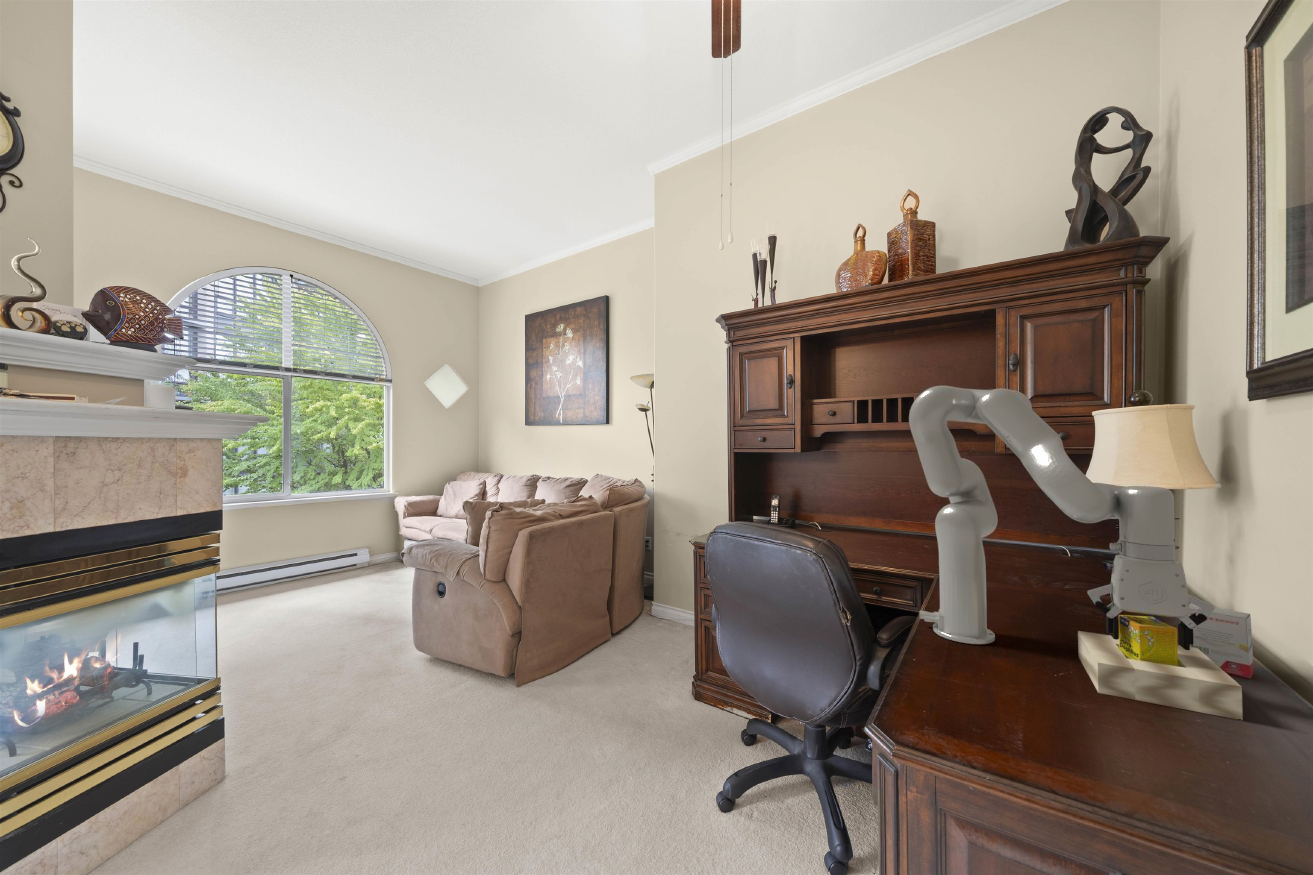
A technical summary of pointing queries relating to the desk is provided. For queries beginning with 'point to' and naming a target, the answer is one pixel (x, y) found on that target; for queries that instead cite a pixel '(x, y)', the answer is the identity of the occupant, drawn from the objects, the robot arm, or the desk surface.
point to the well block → (1160, 678)
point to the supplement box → (1148, 640)
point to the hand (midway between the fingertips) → (1148, 642)
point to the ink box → (1226, 640)
